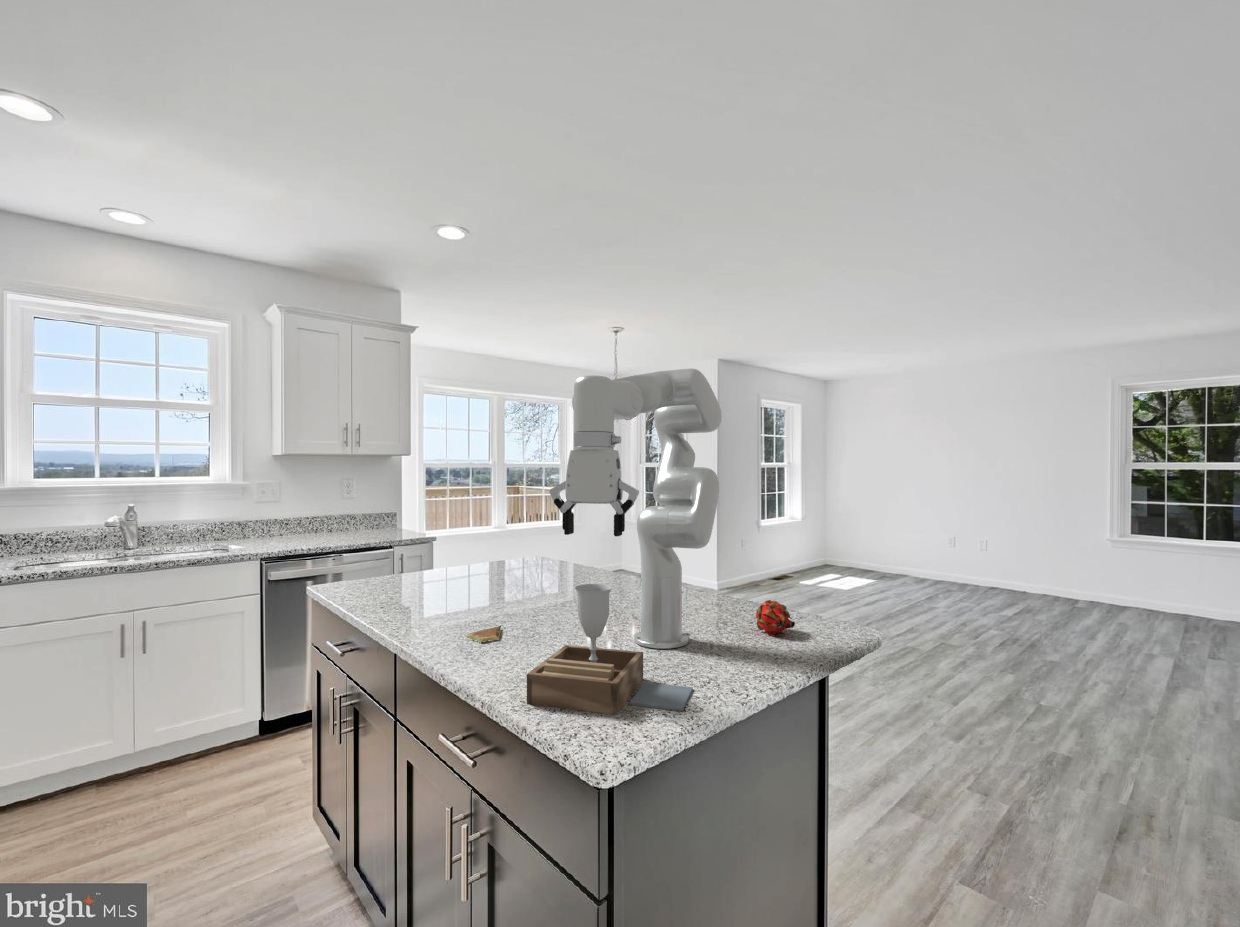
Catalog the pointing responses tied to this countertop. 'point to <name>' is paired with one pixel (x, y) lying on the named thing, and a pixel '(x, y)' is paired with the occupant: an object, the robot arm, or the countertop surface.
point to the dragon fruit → (773, 618)
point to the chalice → (593, 611)
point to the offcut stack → (579, 669)
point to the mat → (662, 696)
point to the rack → (587, 682)
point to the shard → (485, 634)
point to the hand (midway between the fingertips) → (593, 534)
